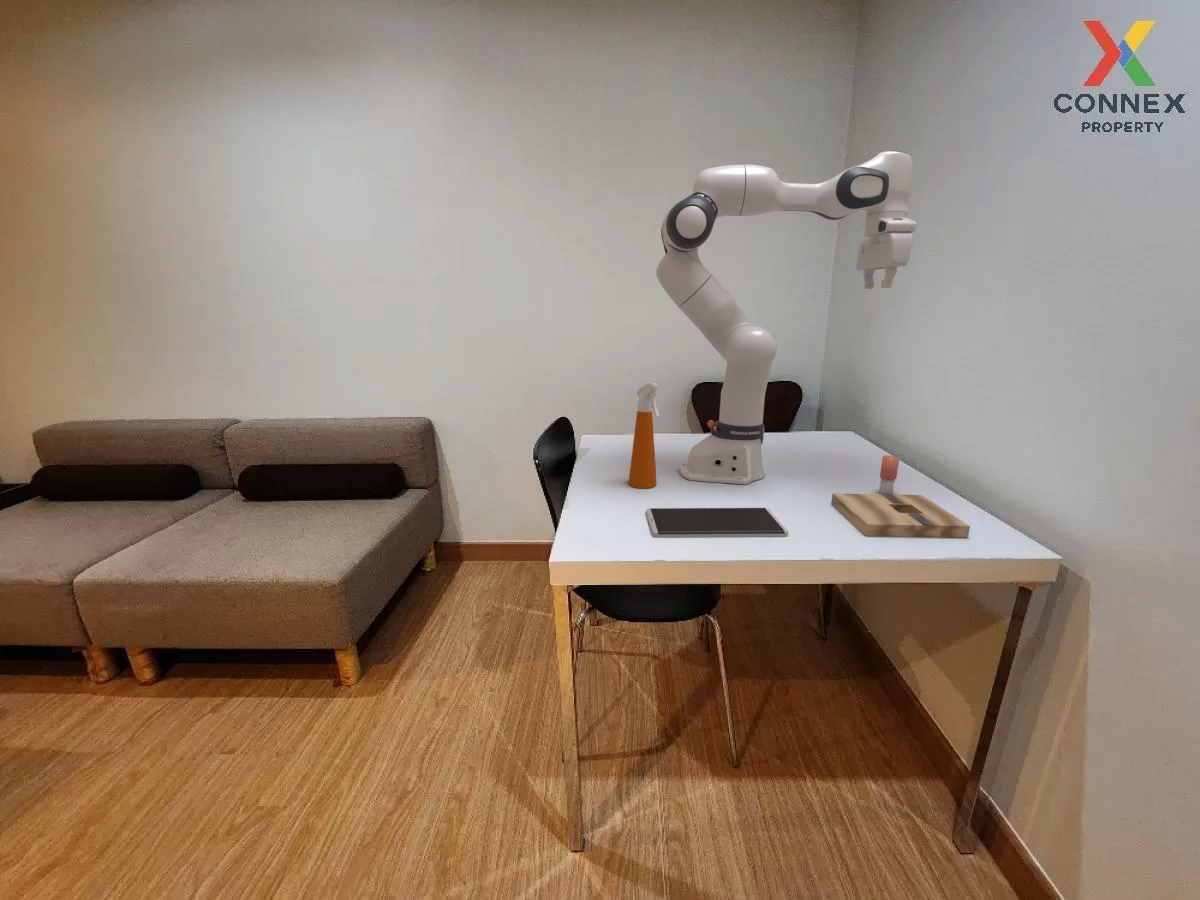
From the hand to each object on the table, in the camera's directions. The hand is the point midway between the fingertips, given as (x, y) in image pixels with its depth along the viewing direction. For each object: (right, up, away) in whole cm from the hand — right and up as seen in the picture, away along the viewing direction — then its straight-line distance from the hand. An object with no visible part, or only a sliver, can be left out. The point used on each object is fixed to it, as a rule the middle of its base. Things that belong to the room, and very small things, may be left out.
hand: (877, 288), depth 135 cm
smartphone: (-44, -56, -20) cm, 74 cm away
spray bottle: (-56, -49, +3) cm, 75 cm away
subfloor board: (-5, -54, -17) cm, 57 cm away
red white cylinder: (+2, -50, -1) cm, 50 cm away
